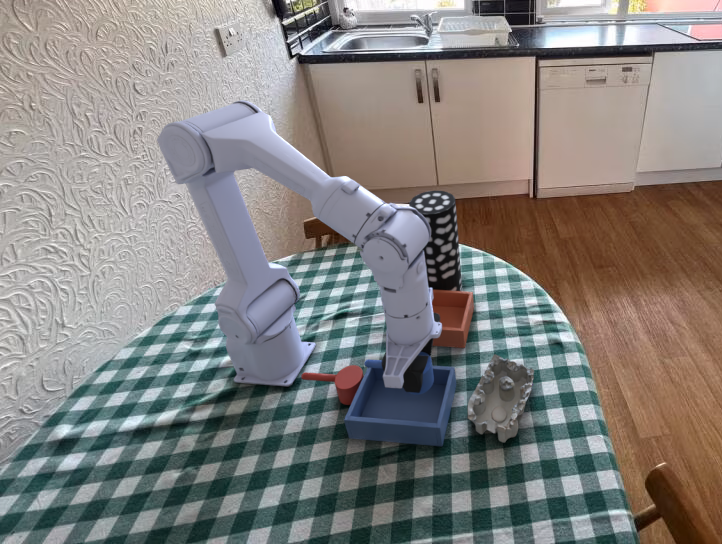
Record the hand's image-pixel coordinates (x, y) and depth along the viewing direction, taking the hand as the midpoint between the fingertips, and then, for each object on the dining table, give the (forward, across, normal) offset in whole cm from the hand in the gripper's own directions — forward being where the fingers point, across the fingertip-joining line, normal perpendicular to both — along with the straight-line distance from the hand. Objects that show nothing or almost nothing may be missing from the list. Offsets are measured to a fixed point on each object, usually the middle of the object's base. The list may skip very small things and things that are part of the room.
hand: (418, 375), depth 57 cm
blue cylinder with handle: (+1, 0, +3) cm, 3 cm away
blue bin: (+8, 0, +3) cm, 8 cm away
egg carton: (+8, +2, -11) cm, 14 cm away
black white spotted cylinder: (-3, +25, +4) cm, 26 cm away
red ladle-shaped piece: (+7, +2, +14) cm, 16 cm away
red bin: (+8, +16, +3) cm, 18 cm away
